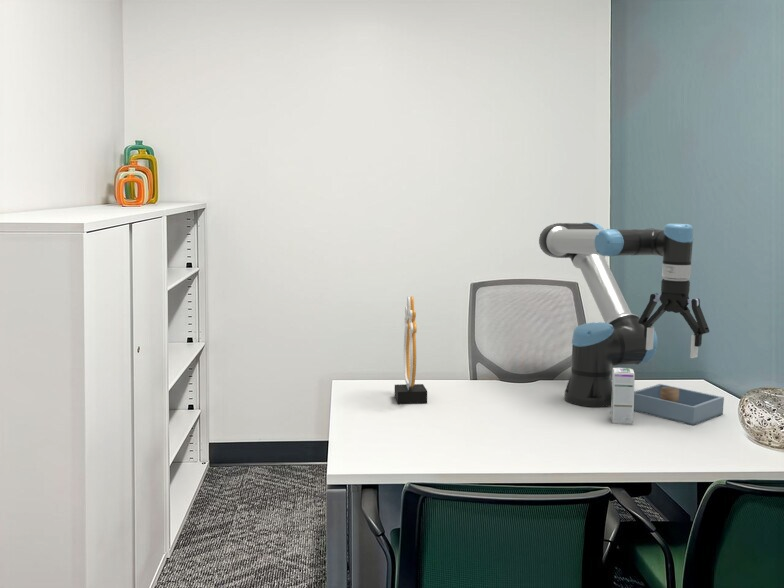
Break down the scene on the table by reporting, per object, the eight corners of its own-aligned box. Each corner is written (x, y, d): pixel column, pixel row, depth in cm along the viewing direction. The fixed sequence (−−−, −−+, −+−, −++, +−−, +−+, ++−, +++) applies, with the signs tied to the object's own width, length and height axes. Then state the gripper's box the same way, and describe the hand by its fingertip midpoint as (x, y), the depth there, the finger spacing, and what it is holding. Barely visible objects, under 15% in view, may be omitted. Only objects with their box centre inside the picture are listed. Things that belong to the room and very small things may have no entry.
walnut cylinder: (655, 412, 221) (657, 388, 220) (665, 409, 224) (666, 385, 223) (671, 416, 217) (673, 392, 216) (681, 413, 221) (682, 389, 220)
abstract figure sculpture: (429, 407, 226) (430, 300, 222) (399, 407, 225) (400, 300, 221) (421, 392, 243) (422, 292, 238) (393, 393, 242) (394, 292, 238)
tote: (628, 409, 226) (629, 392, 225) (659, 399, 237) (660, 383, 236) (693, 425, 211) (694, 407, 210) (722, 414, 222) (723, 397, 221)
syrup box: (633, 424, 211) (636, 372, 209) (611, 423, 212) (613, 371, 210) (631, 418, 217) (634, 368, 215) (609, 417, 218) (612, 366, 216)
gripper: (628, 275, 223) (625, 347, 226) (712, 284, 204) (706, 363, 207) (643, 274, 228) (639, 344, 231) (725, 282, 209) (720, 359, 212)
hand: (671, 353), depth 219 cm, fingers open, 13 cm apart
